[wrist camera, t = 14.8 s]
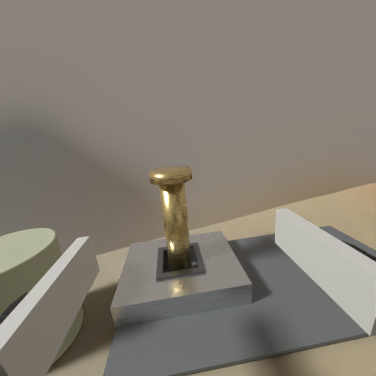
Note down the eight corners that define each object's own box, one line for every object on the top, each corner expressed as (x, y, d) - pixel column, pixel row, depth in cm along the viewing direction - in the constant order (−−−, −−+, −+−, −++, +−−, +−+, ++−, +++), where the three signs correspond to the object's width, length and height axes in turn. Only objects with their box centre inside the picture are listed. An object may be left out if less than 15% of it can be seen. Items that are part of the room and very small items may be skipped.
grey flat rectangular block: (221, 245, 32) (221, 229, 32) (251, 303, 21) (252, 281, 20) (134, 258, 31) (131, 242, 30) (115, 328, 20) (109, 306, 19)
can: (-15, 339, 20) (-67, 251, 17) (75, 289, 26) (50, 216, 23) (-33, 429, 14) (-124, 316, 10) (93, 336, 20) (62, 243, 16)
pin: (196, 262, 29) (188, 164, 24) (202, 288, 24) (194, 171, 19) (164, 267, 28) (150, 168, 24) (164, 294, 23) (146, 176, 19)
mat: (329, 228, 36) (330, 225, 35) (481, 312, 18) (483, 308, 18) (135, 256, 32) (135, 254, 32) (100, 393, 15) (99, 389, 15)
